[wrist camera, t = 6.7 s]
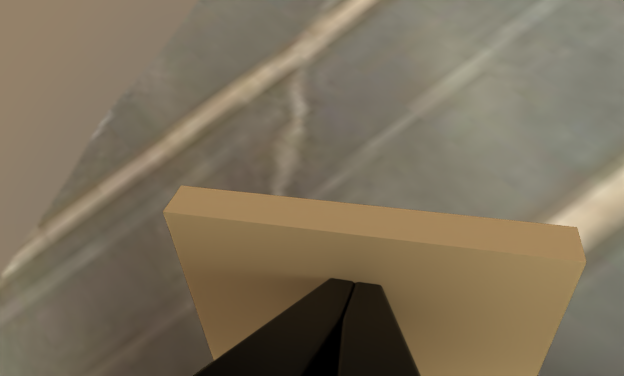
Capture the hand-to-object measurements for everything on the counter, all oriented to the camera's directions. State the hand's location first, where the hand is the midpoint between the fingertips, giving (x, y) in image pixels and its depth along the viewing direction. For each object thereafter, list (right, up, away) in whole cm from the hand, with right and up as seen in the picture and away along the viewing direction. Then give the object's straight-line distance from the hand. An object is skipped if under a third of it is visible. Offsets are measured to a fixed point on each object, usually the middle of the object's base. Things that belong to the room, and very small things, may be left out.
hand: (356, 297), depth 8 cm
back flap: (0, -5, +4) cm, 7 cm away
